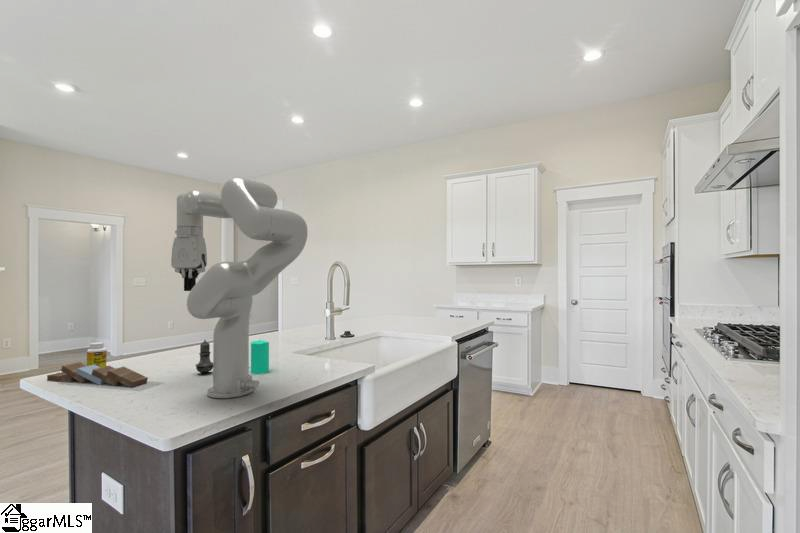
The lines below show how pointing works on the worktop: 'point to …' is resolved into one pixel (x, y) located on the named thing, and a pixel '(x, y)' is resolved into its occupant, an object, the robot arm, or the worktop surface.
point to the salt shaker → (204, 360)
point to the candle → (259, 357)
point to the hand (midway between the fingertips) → (189, 290)
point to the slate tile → (87, 373)
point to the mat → (107, 385)
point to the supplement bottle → (97, 354)
